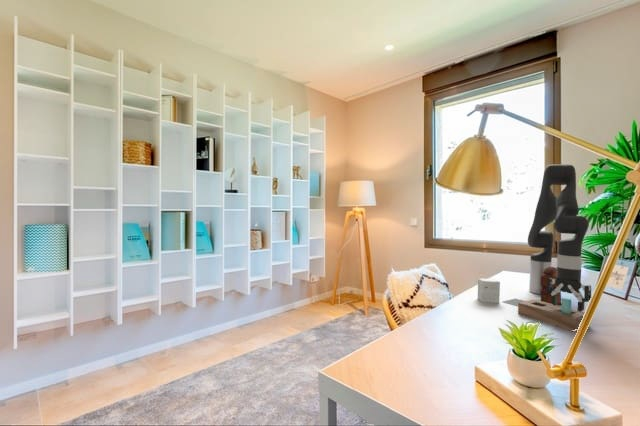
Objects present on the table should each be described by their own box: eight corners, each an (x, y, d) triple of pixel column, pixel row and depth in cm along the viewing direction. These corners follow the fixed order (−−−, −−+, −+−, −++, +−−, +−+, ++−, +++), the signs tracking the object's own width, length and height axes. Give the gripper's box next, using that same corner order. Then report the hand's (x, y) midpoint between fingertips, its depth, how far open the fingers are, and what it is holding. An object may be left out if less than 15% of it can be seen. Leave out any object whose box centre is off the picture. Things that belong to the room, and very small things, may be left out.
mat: (515, 299, 155) (515, 298, 155) (542, 306, 145) (542, 305, 145) (501, 302, 149) (501, 301, 149) (528, 310, 139) (528, 309, 139)
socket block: (533, 310, 139) (533, 299, 139) (588, 326, 121) (589, 313, 121) (517, 314, 133) (518, 302, 133) (574, 331, 115) (575, 318, 115)
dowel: (563, 322, 125) (564, 297, 125) (572, 324, 122) (573, 299, 122) (559, 323, 123) (560, 298, 123) (568, 326, 121) (569, 300, 121)
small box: (494, 300, 153) (494, 278, 153) (499, 303, 147) (500, 281, 147) (477, 299, 154) (477, 278, 153) (481, 302, 148) (482, 280, 148)
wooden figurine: (554, 309, 141) (556, 269, 140) (538, 305, 146) (539, 267, 145) (564, 304, 147) (565, 267, 147) (548, 301, 153) (549, 264, 152)
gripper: (596, 269, 118) (594, 312, 118) (552, 262, 130) (551, 301, 131) (587, 271, 114) (585, 315, 115) (543, 264, 126) (541, 304, 127)
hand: (567, 308), depth 123 cm, fingers open, 8 cm apart
